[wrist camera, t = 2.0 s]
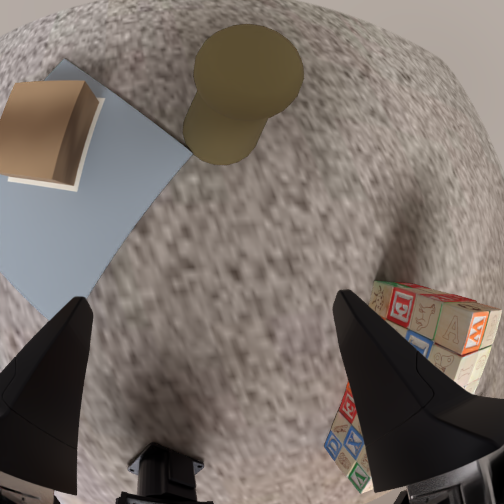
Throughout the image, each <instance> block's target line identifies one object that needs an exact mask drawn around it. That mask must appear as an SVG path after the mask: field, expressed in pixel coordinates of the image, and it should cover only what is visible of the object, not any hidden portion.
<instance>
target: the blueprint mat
mask: <svg viewBox="0 0 504 504" xmlns="http://www.w3.org/2000/svg"><path fill="white" fill-rule="evenodd" d="M58 80H80V81H86V83H87V85H88V86H89V88H90V89H91V91H92V92H93V94H94V95H95V96H96V98H97V99H98V101H99V104H98V107H97V110H96V112H95V115H94V118H93V121H92V124H91V126H90V129H89V133H88V136H87V139H86V142H85V145H84V149H83V152H82V156H81V159H80V163H79V167H78V171H77V175H76V179H75V184H74V186H70V185H64V184H57V183H51V182H44V181H37V180H30V179H22V178H15V177H9V176H5V175H1V174H0V272H1V273H2V274H3V275H4V276H5V277H6V279H7V280H8V281H9V282H10V283H11V284H12V285H13V286H14V287H15V288H16V289H17V290H18V291H19V292H20V293H21V294H22V295H23V296H24V297H25V298H26V299H27V300H28V301H29V302H30V303H31V304H32V305H33V306H34V307H35V308H36V309H37V310H38V311H39V312H40V313H41V314H42V315H43V316H44V317H46V318H47V319H48V320H50V319H51V318H52V317H53V316H54V315H55V314H57V313H58V312H59V311H60V310H61V309H62V308H63V307H64V306H65V305H66V304H67V303H68V302H69V301H70V300H71V299H72V298H73V297H75V296H83V297H85V298H86V299H87V298H88V296H89V294H90V293H91V291H92V289H93V288H94V286H95V285H96V283H97V281H98V280H99V278H100V277H101V275H102V273H103V272H104V270H105V269H106V267H107V266H108V264H109V263H110V261H111V260H112V258H113V257H114V255H115V254H116V252H117V251H118V249H119V248H120V246H121V245H122V244H123V242H124V241H125V239H126V238H127V236H128V235H129V234H130V232H131V231H132V229H133V228H134V227H135V225H136V224H137V223H138V221H139V220H140V219H141V217H142V216H143V215H144V213H145V212H146V211H147V209H148V208H149V207H150V205H151V204H152V203H153V202H154V200H155V199H156V198H157V196H158V195H159V194H160V193H161V191H162V190H163V189H164V188H165V186H166V185H167V184H168V183H169V182H170V180H171V179H172V178H173V177H174V176H175V174H176V173H177V172H178V171H179V170H180V168H181V167H182V166H183V165H184V164H185V163H186V161H187V160H188V159H189V158H190V157H191V156H192V155H193V153H192V152H191V151H189V150H188V149H187V148H186V147H184V146H183V145H182V144H181V143H179V142H178V141H177V140H175V139H174V138H173V137H172V136H170V135H169V134H168V133H166V132H165V131H164V130H163V129H161V128H160V127H159V126H157V125H156V124H155V123H153V122H152V121H151V120H149V119H148V118H147V117H145V116H144V115H143V114H142V113H140V112H139V111H138V110H136V109H135V108H133V107H132V106H131V105H129V104H128V103H127V102H125V101H124V100H123V99H121V98H120V97H119V96H117V95H116V94H114V93H113V92H112V91H110V90H109V89H107V88H106V87H105V86H103V85H102V84H100V83H99V82H98V81H96V80H95V79H93V78H92V77H91V76H89V75H88V74H86V73H85V72H83V71H82V70H80V69H79V68H78V67H76V66H75V65H73V64H72V63H70V62H69V61H67V60H66V59H63V60H62V61H61V62H60V63H59V64H58V65H57V66H56V67H55V69H54V70H53V71H52V72H51V73H50V74H49V75H48V76H47V77H46V78H45V80H44V81H58Z"/></svg>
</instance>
